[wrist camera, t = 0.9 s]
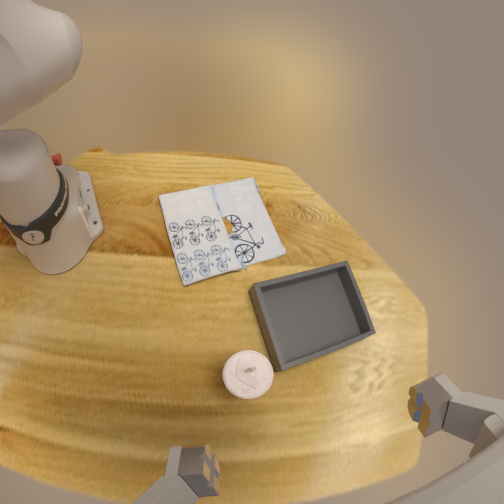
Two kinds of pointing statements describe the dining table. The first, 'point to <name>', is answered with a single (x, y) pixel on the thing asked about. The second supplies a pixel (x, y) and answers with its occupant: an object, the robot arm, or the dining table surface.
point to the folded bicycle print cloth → (219, 229)
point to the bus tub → (310, 314)
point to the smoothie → (247, 374)
